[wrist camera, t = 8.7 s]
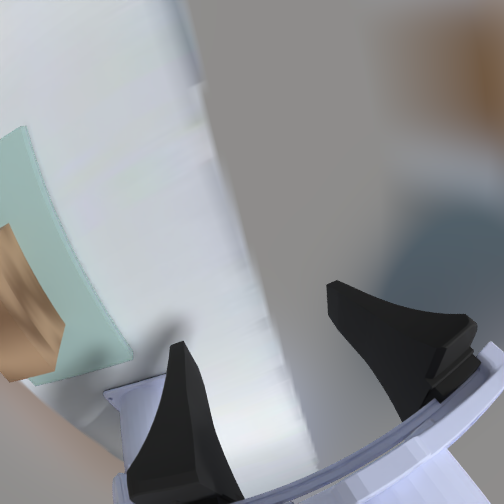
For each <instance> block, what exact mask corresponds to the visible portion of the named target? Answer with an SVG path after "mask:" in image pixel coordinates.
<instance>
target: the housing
mask: <svg viewBox="0 0 504 504" xmlns="http://www.w3.org/2000/svg"><path fill="white" fill-rule="evenodd" d="M65 325H66V324H65V323H64V321H63V320H62V318H61V317H60V315H59V314H58V312H57V311H56V309H55V308H54V306H53V305H52V303H51V302H50V300H49V298H48V297H47V295H46V293H45V292H44V290H43V288H42V287H41V285H40V283H39V282H38V280H37V278H36V276H35V275H34V273H33V271H32V269H31V267H30V265H29V264H28V262H27V260H26V258H25V256H24V254H23V252H22V250H21V248H20V246H19V244H18V242H17V240H16V237H15V235H14V233H13V231H12V229H11V226H10V224H9V223H8V224H6V225H4V226H3V227H1V228H0V372H1V373H2V374H3V376H4V377H5V378H6V379H7V380H8V381H9V382H14V381H18V380H23V379H27V378H31V377H35V376H39V375H43V374H47V373H50V372H54V371H55V368H56V363H57V358H58V353H59V349H60V345H61V341H62V337H63V333H64V329H65Z"/></svg>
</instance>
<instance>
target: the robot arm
mask: <svg viewBox="0 0 504 504" xmlns="http://www.w3.org/2000/svg"><path fill="white" fill-rule="evenodd" d="M326 286H327V303H328V315H329V317H330V319H331V320H332V322H333V323H334V325H335V326H336V328H337V329H338V330H339V331H340V333H341V334H342V335H343V336H344V337H345V339H346V340H347V341H348V342H349V343H350V344H351V345H352V346H353V348H354V349H355V350H356V351H357V352H358V353H359V354H360V356H361V357H362V358H363V359H364V360H365V361H366V363H367V364H368V365H369V367H370V368H371V369H372V371H373V373H374V374H375V375H376V377H377V379H378V380H379V382H380V383H381V385H382V386H383V388H384V390H385V391H386V393H387V394H388V396H389V398H390V400H391V402H392V403H393V405H394V407H395V409H396V411H397V413H398V415H399V417H400V419H401V421H402V423H401V424H399V425H398V426H396V427H395V428H393V429H392V430H390V431H389V432H387V433H386V434H385V435H383V436H381V437H380V438H378V439H376V440H375V441H373V442H372V443H370V444H368V445H367V446H365V447H363V448H361V449H360V450H358V451H356V452H354V453H353V454H351V455H349V456H347V457H345V458H344V459H342V460H340V461H338V462H336V463H334V464H332V465H330V466H328V467H326V468H324V469H322V470H319V471H317V472H315V473H313V474H311V475H309V476H306V477H304V478H302V479H299V480H297V481H295V482H292V483H290V484H287V485H285V486H282V487H279V488H277V489H274V490H271V491H268V492H266V493H263V494H260V495H257V496H254V497H251V498H247V499H245V498H244V496H243V495H242V493H241V491H240V488H239V486H238V484H237V482H236V480H235V478H234V476H233V474H232V471H231V469H230V467H229V465H228V462H227V460H226V457H225V455H224V453H223V450H222V448H221V445H220V442H219V440H218V437H217V434H216V432H215V428H214V425H213V421H212V417H211V412H210V408H209V404H208V399H207V395H206V390H205V386H204V383H203V380H202V377H201V374H200V371H199V368H198V366H197V364H196V363H195V361H194V359H193V357H192V355H191V354H190V352H189V350H188V348H187V346H186V345H185V343H184V341H181V342H179V343H176V344H173V345H171V346H170V352H169V360H168V367H167V373H166V374H163V375H160V376H157V377H154V378H150V379H147V380H143V381H140V382H137V383H133V384H130V385H126V386H122V387H119V388H115V389H111V390H107V391H104V392H103V396H104V397H105V398H106V399H107V400H108V401H109V402H110V403H111V404H112V405H113V406H114V407H115V408H116V409H117V410H118V411H119V412H120V424H121V437H122V448H123V458H124V466H125V473H118V474H117V476H116V477H114V478H113V484H112V489H113V502H114V504H294V503H293V502H288V501H291V500H293V499H296V498H298V497H301V496H303V495H305V494H308V493H310V492H312V491H315V490H317V489H319V488H321V487H323V486H325V485H328V484H330V483H332V482H334V481H336V480H338V479H340V478H342V477H344V476H346V475H347V474H349V473H351V472H353V471H355V470H357V469H358V468H360V467H362V466H364V465H365V464H367V463H369V462H370V461H372V460H374V459H375V458H377V457H378V456H380V455H382V454H383V453H385V452H386V451H388V450H390V449H391V448H393V447H394V446H395V445H397V444H398V443H400V442H401V441H403V440H404V439H405V441H404V442H403V443H401V444H400V445H398V446H397V447H396V448H394V449H392V450H391V451H389V452H388V453H387V454H385V455H383V456H382V457H380V458H379V459H377V460H375V461H374V462H372V463H370V464H369V465H367V466H366V467H364V468H362V469H360V470H358V471H356V472H355V473H353V474H351V475H350V476H348V477H346V478H345V479H343V480H341V481H340V482H339V483H337V484H335V485H333V486H331V487H329V488H327V489H326V490H324V491H322V492H320V493H318V494H316V495H314V496H312V497H310V498H308V499H306V500H303V501H301V502H299V503H297V504H491V503H490V502H489V501H488V499H487V498H486V497H485V496H484V494H483V493H482V492H481V490H480V489H479V488H478V487H477V485H476V484H475V483H474V482H473V480H472V479H471V478H470V477H469V475H468V474H467V473H466V472H465V470H464V469H463V468H462V467H461V465H460V464H459V463H458V462H457V460H456V459H455V458H454V457H453V455H452V454H451V453H450V452H449V451H448V448H449V447H450V446H451V445H452V444H453V443H454V442H455V441H456V440H457V439H459V438H460V437H461V436H462V435H463V433H465V432H466V431H467V430H468V429H469V428H470V427H471V426H472V425H473V424H474V423H475V422H476V421H477V420H478V419H479V417H480V416H481V415H482V414H483V413H484V412H485V411H486V410H487V409H488V408H489V407H490V405H491V404H492V403H493V402H494V401H495V400H496V399H497V397H498V396H499V395H500V394H501V393H502V391H503V390H504V352H503V351H502V350H500V349H499V348H498V347H497V346H496V345H495V344H494V343H493V342H492V341H489V343H488V344H487V345H486V346H485V347H484V348H483V349H482V350H481V351H480V352H479V353H478V355H477V356H476V357H475V356H474V355H473V352H474V350H473V349H472V348H471V347H470V345H471V343H472V341H473V339H474V337H475V334H476V332H477V323H476V322H474V321H473V320H472V319H471V318H469V317H468V316H467V315H466V314H442V313H432V312H425V311H420V310H415V309H410V308H407V307H403V306H399V305H396V304H393V303H390V302H387V301H384V300H382V299H379V298H376V297H374V296H371V295H369V294H367V293H365V292H362V291H360V290H358V289H355V288H354V287H351V286H349V285H347V284H345V283H342V282H340V281H337V280H336V281H334V282H331V283H329V284H327V285H326ZM286 502H287V503H286Z"/></svg>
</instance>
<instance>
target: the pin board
mask: <svg viewBox="0 0 504 504" xmlns="http://www.w3.org/2000/svg"><path fill="white" fill-rule="evenodd" d="M8 223H9V224H10V226H11V229H12V231H13V233H14V235H15V237H16V240H17V242H18V244H19V246H20V248H21V250H22V252H23V254H24V256H25V258H26V260H27V262H28V264H29V265H30V267H31V269H32V271H33V273H34V275H35V276H36V278H37V280H38V282H39V283H40V285H41V287H42V288H43V290H44V292H45V293H46V295H47V297H48V298H49V300H50V302H51V303H52V305H53V306H54V308H55V309H56V311H57V312H58V314H59V315H60V317H61V318H62V320H63V321H64V323H65V324H66V325H65V329H64V333H63V337H62V341H61V345H60V349H59V353H58V358H57V363H56V368H55V371H54V372H50V373H47V374H43V375H39V376H35V377H31V378H28V379H29V380H30V381H31V382H32V383H33V384H34V385H35V386H39V385H43V384H47V383H51V382H55V381H59V380H63V379H67V378H71V377H75V376H78V375H82V374H86V373H89V372H93V371H96V370H100V369H103V368H107V367H110V366H114V365H117V364H120V363H124V362H127V361H130V360H133V351H132V349H131V348H130V347H129V345H128V344H127V342H126V341H125V339H124V338H123V336H122V335H121V333H120V332H119V330H118V329H117V327H116V326H115V324H114V322H113V321H112V319H111V318H110V316H109V314H108V313H107V311H106V310H105V308H104V306H103V305H102V303H101V301H100V299H99V298H98V296H97V294H96V293H95V291H94V289H93V287H92V285H91V284H90V282H89V280H88V278H87V276H86V275H85V273H84V271H83V269H82V267H81V265H80V263H79V261H78V259H77V257H76V255H75V253H74V251H73V249H72V247H71V245H70V243H69V241H68V239H67V237H66V234H65V232H64V230H63V228H62V226H61V223H60V221H59V219H58V216H57V214H56V212H55V209H54V207H53V204H52V202H51V199H50V197H49V194H48V192H47V189H46V186H45V184H44V181H43V178H42V175H41V173H40V170H39V167H38V164H37V161H36V158H35V155H34V151H33V148H32V145H31V141H30V138H29V134H28V131H27V127H26V126H20V127H19V128H17V129H15V130H14V131H12V132H11V133H9V134H8V135H6V136H4V137H3V138H1V139H0V228H1V227H3V226H4V225H6V224H8Z"/></svg>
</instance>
